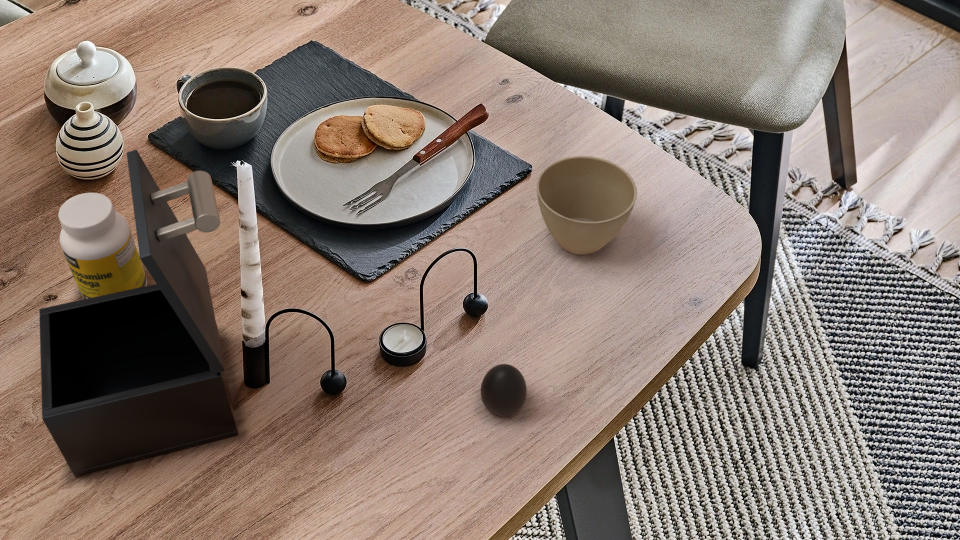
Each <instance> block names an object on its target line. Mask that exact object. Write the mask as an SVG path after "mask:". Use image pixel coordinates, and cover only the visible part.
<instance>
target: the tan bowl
mask: <svg viewBox="0 0 960 540" xmlns="http://www.w3.org/2000/svg"><path fill="white" fill-rule="evenodd" d="M536 196H537V202H538V206H539V207H538V208H539V210H540V214H541V217H542V219H543V222H544V224H545V226H546V228H547V230H548V231H549V233H550V235H551V236H552V238H553V239H554V240H555V242H556V243H557V244H558V245H559V246H560V247H561V248H562V249H563V250H565V251H566V252H568V253H571V254H573V255H581V256H582V255H583V256H585V255H591V254H594V253H596V252H598V251H600V250H601V249H602V248H603V247H605V246H606V245H608V244H609V243H610V242H611V241H612V240H613V239H614V238H615V237H616V236H617V235H618V233H619V232H620V231H621V230H622V228H623V227H624V226H625V225H626V223H627V221H628V219H629V217H630V215H631V214H632V211H633V209H634V206H635V204H636V200H637V198H638V197H637V196H638V188H637V185H636V182H635V180H634V178H633V177H632V175H631V174H629V172H628V171H627V170H625V169H624V168H623V167H621V166H620V165H618V164H617V163H615V162H613V161H610V160H608V159H605V158H602V157H597V156H591V155H574V156H568V157H563V158H561V159H557V160H555V161H553V162H552V163H550V164H548V165H547V166H546V167H545V168H544V169H543V170H542V171H541V172H540V174H539V176H538V178H537V182H536Z"/></svg>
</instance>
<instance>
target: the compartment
mask: <svg viewBox="0 0 960 540" xmlns="http://www.w3.org/2000/svg"><path fill="white" fill-rule="evenodd" d="M38 313H39V314H38V315H39V348H40V349H39V350H40V353H39V355H40V389H41V419H42V421H43V422H44V425H45V426H46V429H47V430H48V432H49V434H50V435H51V437H52V439H53V441H54V443H55V444H56V447H57V448H58V450H59V452H60V454H61V455H62V456H63V459H64V460H65V462H66V464H67V466H68V468H69V469H70V472H72V475H73V476H74V478H79V477H82V476H87V475H90V474H95V473H100V472H103V471H106V470H110V469H111V470H112V469H114V468H118V467H123V466H126V465H129V464H134V463H138V462H142V461H146V460H149V459H153V458H157V457H161V456H165V455H168V454H173V453H176V452H177V453H178V452H181V451H184V450H188V449H192V448H196V447H201V446H204V445H208V444H212V443H216V442H220V441H223V440H227V439H228V440H229V439H232V438H235V437H239V436H240V433H239V429H238V423H237V418H236V413H235V408H234V401H233V396H232V391H231V386H230V382H229V376H228V371H227V364H226V359H225V354H224V349H223V344H222V339H221V334H220V331H219V327H218V324H217V322H216V325H217V331H218V336H219V341H220V347H221V352H222V357H223V362H224V368H225V370H224V371H222V372H219V373H215V372H214V371H213V369H212V367H211V366H210V364H209V363H208V361H207V360H206V358H205V357H204V355H203V354H202V352H201V351H200V349H199V348H198V346H197V345H196V343H195V342H194V340H193V339H192V337H191V336H190V334H189V332H188V331H187V329H186V328H185V326H184V325H183V323H182V322H181V320H180V319H179V317H178V316H177V314H176V313H175V311H174V310H173V308H172V307H171V305H170V304H169V302H168V301H167V299H166V297H165V296H164V294H163V293H162V291H161V290H160V288H159V287H158V285H157V284H156V283H154V284H150V285H149V284H148V285H147V286H144V287H140V288H135V289H130V290H126V291H121V292H116V293H112V294H107V295H102V296H97V297H93V298H88V299H83V298H82V299H78V300H75V301H70V302H66V303H61V304H57V305H51V306H46V307H42V308H39V310H38Z"/></svg>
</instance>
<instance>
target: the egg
mask: <svg viewBox="0 0 960 540" xmlns="http://www.w3.org/2000/svg"><path fill="white" fill-rule="evenodd" d="M527 389H528V388H527V382H526V379H525V377H524V375H523V373H522V372H521V371H520V370H519V369H518V368H517V367H515V366H514V365H512V364H510V363H509V364H508V363H502V364H497V365H494V366H493V367H491V368H490V369H489V370H488V371H487V372H486V374H484V377H483V378H482V381H481V384H480V398H481V402H482V404H483V405H484V407H485V408H486V409H487V411H488V412H490V413H491V414H493V415H495V416H497V417H509V416H512V415H515V414H516V413H517V412H519V411H520V410H521V408H523V406H524V404H525V402H526V399H527V395H528V394H527V393H528V390H527Z"/></svg>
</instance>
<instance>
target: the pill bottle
mask: <svg viewBox="0 0 960 540" xmlns="http://www.w3.org/2000/svg"><path fill="white" fill-rule="evenodd" d="M58 220H59V223H60V225H61V230H60V232H59V245H60V247H61V250H62V253H63V255H64V258H65V260H66V262H67V265H68V267H69V270H70V273H71V274H72V276H73V279H74V281H75V285H76V286H77V289H78V291H79V293H80V296H81V298H82V300H83V299H88V298H93V297H97V296H102V295H107V294H112V293H116V292H121V291H126V290H130V289H135V288H140V287H144V286H148V279H147V275H146V272H145V268H144V264H143V262H142V261H141V259H140V255H139V250H138V248H137V245H136V242H135V239H134V236H133V233H132V230H131V227H130V224H129V223H128V220H127V219H126V218H125V216H123V215H122V214H121V213H119V212H118V211H116V209H115V206H114V205H113V202H112V200H111V198H109V197H108V196H107V195H105V194H102V193H100V192H99V193H98V192H84V193H79V194H76V195H74V196H72V197H70V198H69V199H67V200H66V201H64V202H63V203H62V204H61V206H60V208H59V210H58Z"/></svg>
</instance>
